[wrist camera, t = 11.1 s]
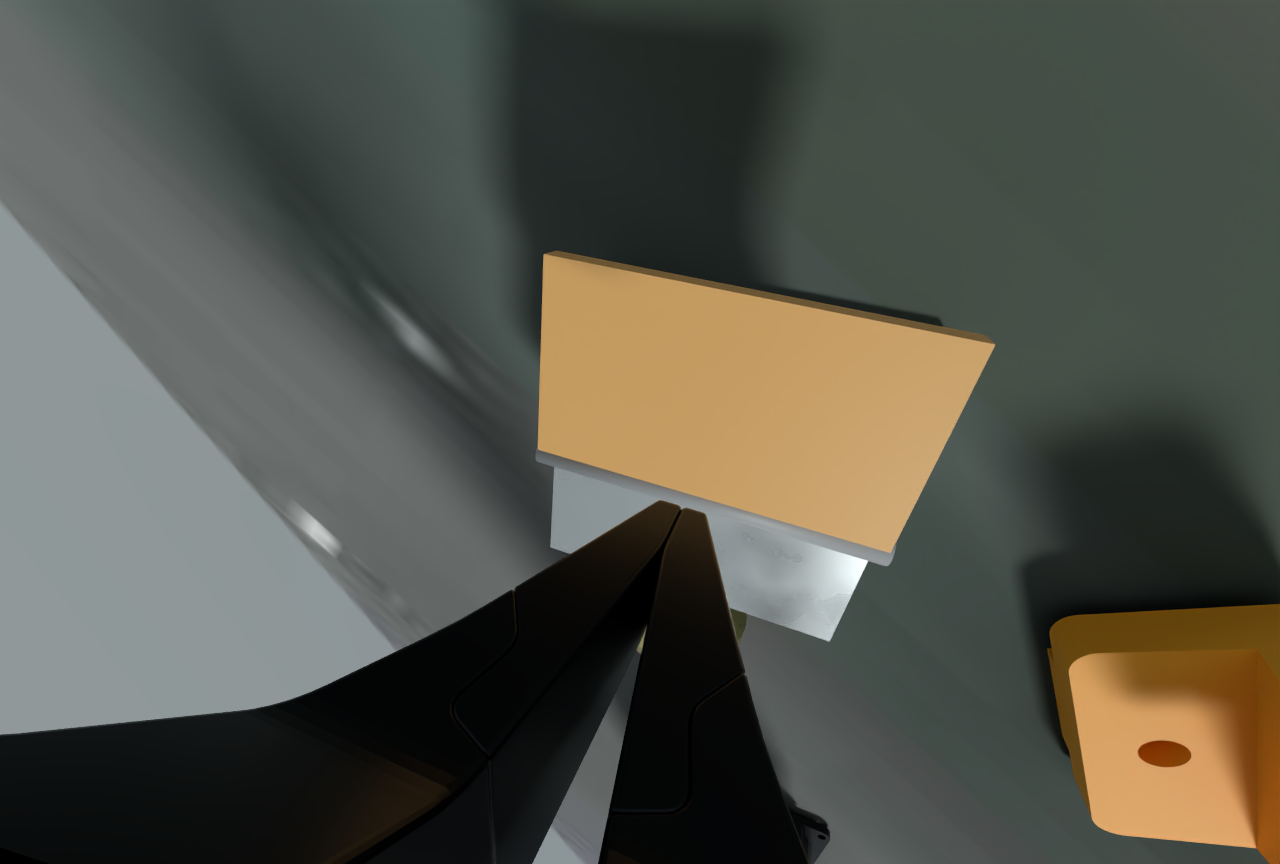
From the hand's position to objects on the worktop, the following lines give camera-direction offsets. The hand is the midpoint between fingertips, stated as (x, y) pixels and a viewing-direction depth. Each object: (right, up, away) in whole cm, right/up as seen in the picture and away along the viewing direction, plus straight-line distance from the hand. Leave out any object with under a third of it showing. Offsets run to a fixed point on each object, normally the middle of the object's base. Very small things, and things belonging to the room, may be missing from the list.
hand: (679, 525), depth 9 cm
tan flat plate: (+2, +2, +5) cm, 6 cm away
